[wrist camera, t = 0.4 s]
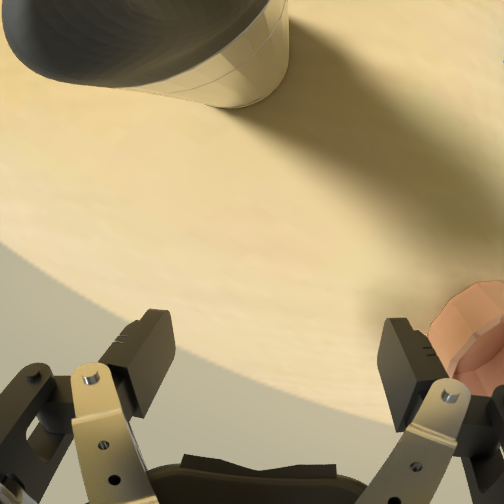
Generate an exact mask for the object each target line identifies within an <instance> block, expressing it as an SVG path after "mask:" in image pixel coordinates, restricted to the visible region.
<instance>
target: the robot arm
mask: <svg viewBox="0 0 504 504" xmlns="http://www.w3.org/2000/svg"><path fill="white" fill-rule="evenodd" d="M2 22H3V29H4V33H5V36H6V39H7V42H8V44H9V46H10V48H11V49H12V51H13V53H14V54H15V55H16V57H17V58H18V59H19V60H20V61H21V62H22V63H23V64H24V65H26V66H27V67H28V68H29V69H31V70H32V71H34V72H35V73H37V74H39V75H42V76H44V77H46V78H49V79H53V80H56V81H59V82H65V83H71V84H78V85H88V86H97V87H108V88H114V89H121V90H129V91H135V92H142V93H149V94H155V95H161V96H166V97H172V98H177V99H182V100H187V101H192V102H197V103H201V104H205V105H208V106H212V107H217V108H241V107H246V106H250V105H252V104H255V103H257V102H260V101H261V100H263V99H264V98H266V97H267V96H269V95H270V94H271V93H272V92H273V91H274V90H275V89H276V88H277V87H278V86H279V84H280V83H281V81H282V80H283V78H284V76H285V74H286V71H287V68H288V63H289V22H288V0H3V1H2ZM174 356H175V340H174V334H173V327H172V321H171V315H170V312H169V311H168V310H158V309H149V310H147V312H146V313H145V314H144V316H143V317H142V318H141V319H140V320H135V321H134V322H132V323H131V324H129V325H127V326H126V327H125V328H124V330H123V331H122V332H121V333H120V336H118V337H117V338H116V339H115V342H113V343H112V345H111V346H110V347H109V348H108V350H107V351H106V352H105V353H104V355H103V356H102V357H101V358H100V360H99V361H98V362H93V363H87V364H84V365H81V366H80V367H78V368H77V369H76V370H74V372H73V373H72V375H71V376H53V373H52V371H51V369H50V367H49V366H48V365H46V364H44V363H33V364H30V365H28V366H26V367H24V368H23V369H22V370H21V371H20V372H19V373H18V374H17V375H16V377H14V379H13V380H12V381H11V382H10V383H9V384H8V386H7V387H6V388H5V389H4V390H3V392H2V393H1V394H0V504H39V503H40V501H41V499H42V497H43V494H44V493H45V491H46V489H47V487H48V485H49V483H50V481H51V479H52V477H53V475H54V473H55V471H56V470H57V468H58V466H59V464H60V462H61V460H62V458H63V456H64V455H65V453H66V451H67V449H68V447H69V446H70V444H71V442H72V440H73V438H74V440H75V445H76V450H77V455H78V460H79V464H80V469H81V473H82V477H83V481H84V485H85V489H86V493H87V496H88V500H89V502H88V503H86V504H430V502H431V500H432V498H433V496H434V494H435V492H436V490H437V488H438V486H439V484H440V482H441V480H442V478H443V476H444V474H445V472H446V469H447V467H448V465H449V463H450V460H451V458H452V456H456V457H461V460H462V463H463V467H464V470H465V474H466V478H467V482H468V486H469V490H470V494H471V498H472V502H473V504H504V459H503V456H502V454H501V451H500V446H501V447H502V449H503V452H504V385H500V386H498V387H496V388H495V389H494V391H493V393H492V395H491V397H488V396H478V395H471V394H470V391H469V389H468V388H467V386H466V385H465V384H463V383H462V382H460V381H458V380H455V379H451V378H450V377H449V375H448V374H447V372H446V370H445V368H444V366H443V364H442V362H441V361H440V359H439V357H438V356H437V353H436V351H435V350H434V348H433V346H432V344H431V343H430V341H429V339H428V338H427V337H426V336H425V335H424V334H422V333H421V332H420V331H419V330H416V331H413V329H412V327H411V325H410V323H409V321H408V320H407V318H387V319H386V320H385V323H384V327H383V332H382V337H381V341H380V346H379V350H378V356H377V365H378V370H379V373H380V377H381V380H382V383H383V387H384V390H385V393H386V397H387V400H388V404H389V408H390V411H391V415H392V419H393V422H394V426H395V430H396V432H404V433H403V435H402V436H401V438H400V440H399V442H398V443H397V444H396V446H395V448H394V449H393V451H392V452H391V454H390V455H389V457H388V458H387V460H386V461H385V463H384V464H383V466H382V467H381V469H380V470H379V471H378V473H377V474H376V476H375V477H374V478H373V480H372V481H371V482H370V484H369V485H368V486H367V485H366V484H364V483H362V482H360V481H358V480H356V479H353V478H350V477H347V476H343V475H338V474H337V472H336V464H328V465H295V466H288V467H282V468H276V469H269V470H263V471H256V470H252V469H249V468H245V467H242V466H239V465H236V464H233V463H230V462H227V461H224V460H221V459H214V458H206V457H200V456H193V455H187V454H184V456H183V459H182V462H181V464H170V465H164V466H160V467H157V468H153V469H151V470H148V468H147V466H146V463H145V461H144V459H143V456H142V454H141V451H140V449H139V446H138V444H137V442H136V439H135V436H134V434H133V431H132V428H131V426H130V423H129V421H130V419H131V417H132V416H134V417H139V418H144V417H145V415H146V413H147V411H148V409H149V407H150V405H151V403H152V401H153V399H154V397H155V395H156V393H157V391H158V389H159V387H160V385H161V383H162V381H163V379H164V377H165V375H166V373H167V371H168V369H169V367H170V365H171V363H172V361H173V359H174ZM35 416H37V418H38V420H39V421H40V422H39V423H38V425H37V426H36V428H35V429H34V431H33V433H32V434H31V435H30V437H29V438H28V440H26V431H27V428H28V427H29V425H30V424H31V422H32V421H33V419H34V418H35Z"/></svg>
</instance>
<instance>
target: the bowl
mask: <svg viewBox="0 0 504 504" xmlns="http://www.w3.org/2000/svg"><path fill="white" fill-rule="evenodd" d="M428 339H429V341H430V343H431V344H432V346H433V348H434V350H435V351H436V353H437V356H438V357H439V359H440V361H441V362H442V364H443V366H444V368H445V370H446V372H447V374H448V375H449V377H450V378H451V379H455V380H458V381H460V382H462V383H463V384H465V385H466V386H467V388H468V389H469V391H470V394H471V395H478V396H488V397H491V395H492V393H493V391H494V389H495V388H496V387H498V386H500V385H504V283H502V282H501V281H500V280H498V281H488V282H477V283H475V284H473V285H472V286H470V287H469V288H467V289H466V290H464V291H463V292H461V293H459V294H458V295H456V296H455V297H453V298H452V299H450V300H449V302H448V303H447V304H446V306H445V307H444V308H443V310H442V311H441V312H440V314H439V315H438V316H437V318H436V319H435V320H434V322H433V323H432V324H431V326H430V331H429V335H428Z"/></svg>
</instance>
